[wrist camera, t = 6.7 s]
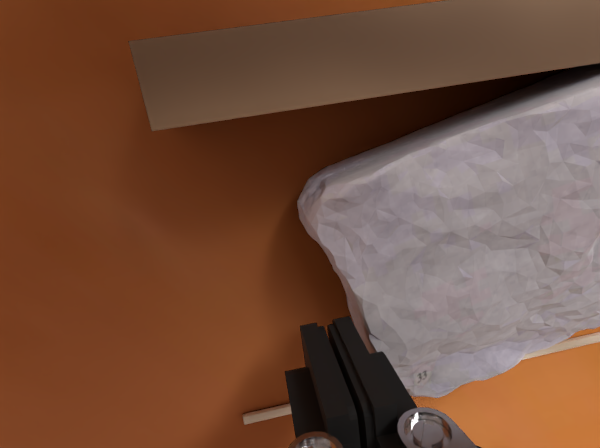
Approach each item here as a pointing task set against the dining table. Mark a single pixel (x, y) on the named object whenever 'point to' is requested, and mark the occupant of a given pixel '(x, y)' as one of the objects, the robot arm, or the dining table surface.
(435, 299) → the stone block
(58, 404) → the dining table surface
